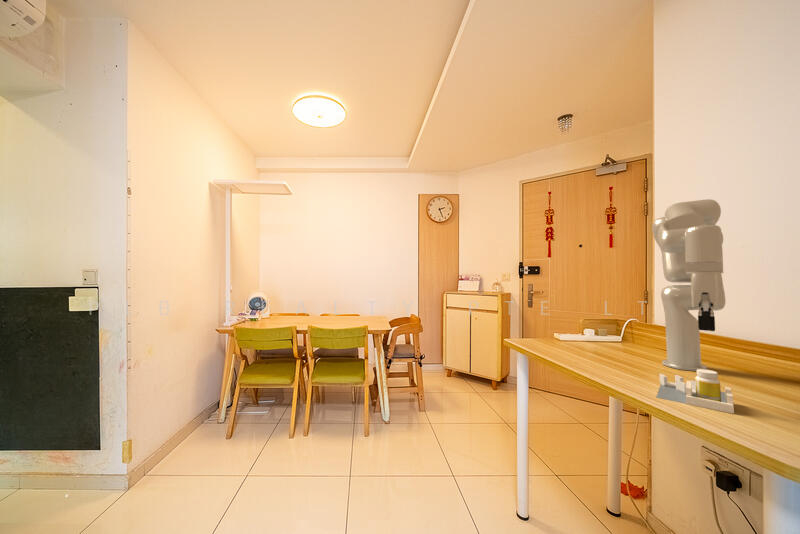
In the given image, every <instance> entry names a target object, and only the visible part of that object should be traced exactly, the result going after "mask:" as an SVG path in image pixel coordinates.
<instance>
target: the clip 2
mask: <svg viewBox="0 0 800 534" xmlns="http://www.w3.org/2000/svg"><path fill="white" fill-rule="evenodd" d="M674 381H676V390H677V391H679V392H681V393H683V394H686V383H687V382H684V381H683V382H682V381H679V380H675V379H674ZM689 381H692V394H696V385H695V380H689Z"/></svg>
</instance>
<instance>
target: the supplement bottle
mask: <svg viewBox="0 0 800 534" xmlns="http://www.w3.org/2000/svg"><path fill="white" fill-rule="evenodd" d="M718 378H719V374H718V372H717V371H714V370H711V369H707V370H705V369H697V371H696V376H695V378H694V381H695V385H696V397H698V398H703V399H708V400H713V401H718V402H721V392H722V391H721V382H720V380H719V379H718Z"/></svg>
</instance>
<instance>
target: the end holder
mask: <svg viewBox="0 0 800 534" xmlns="http://www.w3.org/2000/svg"><path fill="white" fill-rule="evenodd" d="M685 383H686V401H687V404H686V405H689V404H690V406H694V405H695V407H699V406H700V408H703V407H704V408H705V409H708V408H709V409H708V410H713V409H714V411H718V410H719V411H718V412H722V411H723V413H727V412H728V414H732V413H733V414H735V408H734V396H733V392H732V390H731V388H732V387H728V386H724V392H725V397H726V403H724V402H718V401H713V400H708V399H703V398H698V397H693V396H692V381H690V380H686V382H685Z"/></svg>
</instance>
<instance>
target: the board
mask: <svg viewBox="0 0 800 534" xmlns="http://www.w3.org/2000/svg"><path fill="white" fill-rule="evenodd" d="M692 396H693V397H696V394H692ZM655 398H657V399H661V400H667V401H671V402H676V403H681V404H685V405H690V404H687V401H686V394H683V393H681V392H679V391H677V390H676V387H668V386H663V385H662V384H661V383H660V386H659V387H658V390H657V394H656V396H655ZM721 402H724V403H726V397H725V391H721ZM690 406H691V405H690ZM693 406H695V405H693ZM695 407H696V406H695ZM698 407H700V406H698ZM700 408H701V407H700ZM702 408H704V407H702ZM707 409H708V410H710V409H709V408H707ZM712 410H714V409H712ZM714 411H715V410H714ZM717 411H718V412H720V411H719V410H717ZM721 412H723V411H721ZM723 413H724V412H723ZM726 413H728V412H726ZM728 414H729V413H728ZM732 414H733V413H731V415H732Z"/></svg>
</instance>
